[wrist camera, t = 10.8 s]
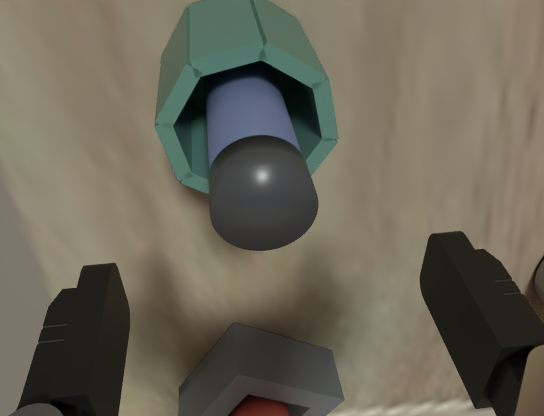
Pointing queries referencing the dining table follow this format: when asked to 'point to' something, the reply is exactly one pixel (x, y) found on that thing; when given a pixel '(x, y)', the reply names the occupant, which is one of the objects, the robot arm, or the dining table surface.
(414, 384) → the dining table surface
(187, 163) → the pen cup
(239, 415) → the button
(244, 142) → the marker
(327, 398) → the button console
